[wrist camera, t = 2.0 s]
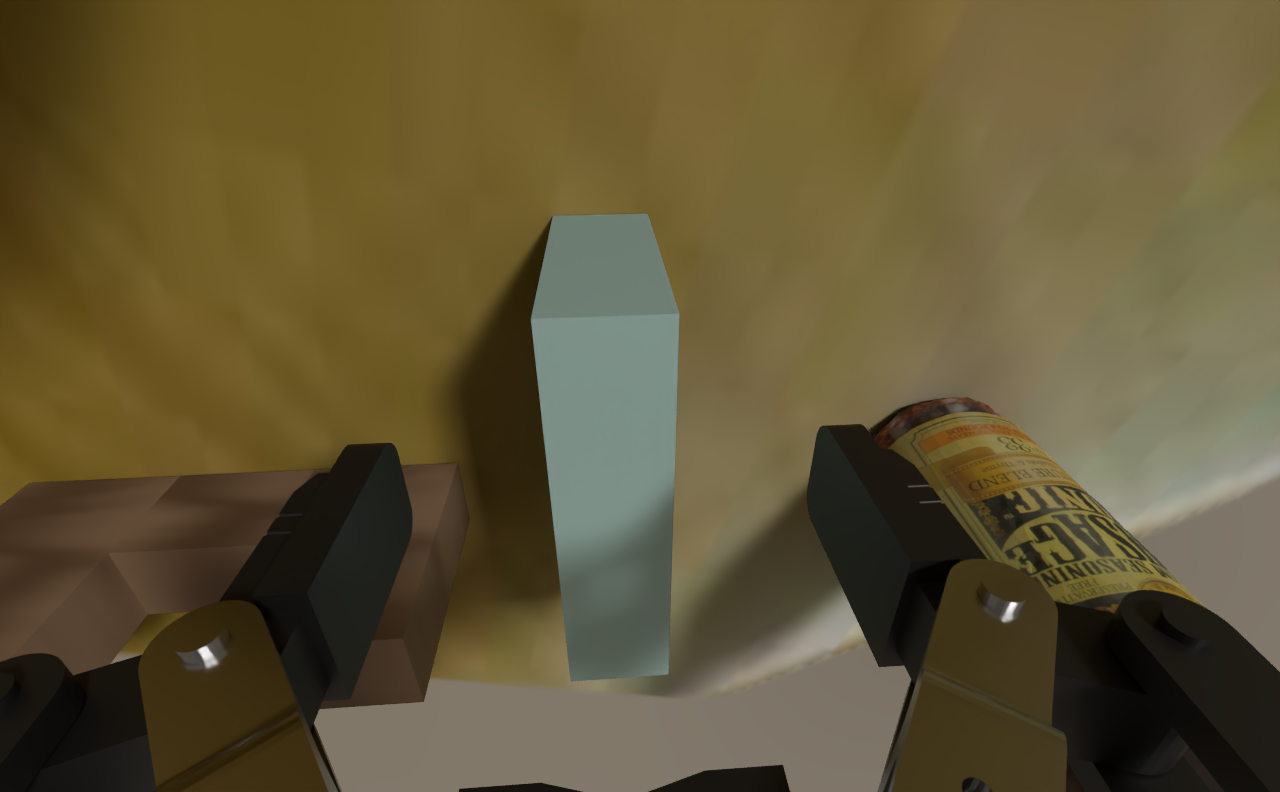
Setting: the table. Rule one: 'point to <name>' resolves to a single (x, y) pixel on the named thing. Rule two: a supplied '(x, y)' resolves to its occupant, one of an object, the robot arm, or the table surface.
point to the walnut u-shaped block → (203, 565)
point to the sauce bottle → (1027, 512)
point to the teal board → (609, 438)
